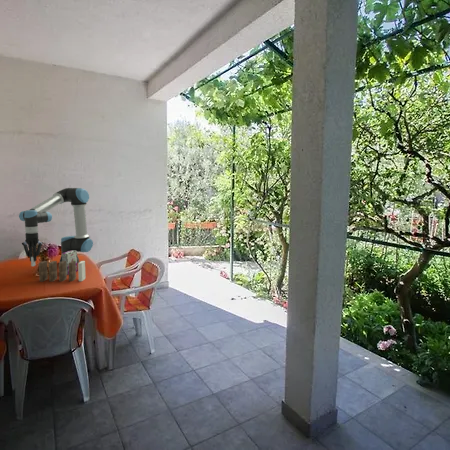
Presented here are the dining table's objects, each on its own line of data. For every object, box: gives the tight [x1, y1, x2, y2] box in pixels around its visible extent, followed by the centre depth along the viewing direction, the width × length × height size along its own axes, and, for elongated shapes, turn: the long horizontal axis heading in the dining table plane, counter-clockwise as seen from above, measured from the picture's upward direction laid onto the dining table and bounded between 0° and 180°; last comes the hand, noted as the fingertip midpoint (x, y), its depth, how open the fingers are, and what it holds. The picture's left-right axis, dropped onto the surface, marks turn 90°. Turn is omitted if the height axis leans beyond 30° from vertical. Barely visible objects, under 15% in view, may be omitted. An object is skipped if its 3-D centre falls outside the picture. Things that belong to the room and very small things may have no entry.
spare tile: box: [77, 260, 86, 282], centre depth 223 cm, size 2×7×13 cm, turn 6°
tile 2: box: [48, 260, 58, 283], centre depth 221 cm, size 2×7×13 cm, turn 7°
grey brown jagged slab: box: [58, 261, 68, 282], centre depth 222 cm, size 2×7×13 cm, turn 7°
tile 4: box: [68, 261, 77, 282], centre depth 222 cm, size 2×7×13 cm, turn 7°
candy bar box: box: [61, 250, 78, 276], centre depth 240 cm, size 11×5×16 cm, turn 168°
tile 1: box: [38, 260, 49, 283], centre depth 220 cm, size 2×7×13 cm, turn 6°
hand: (33, 265), depth 219 cm, fingers closed
